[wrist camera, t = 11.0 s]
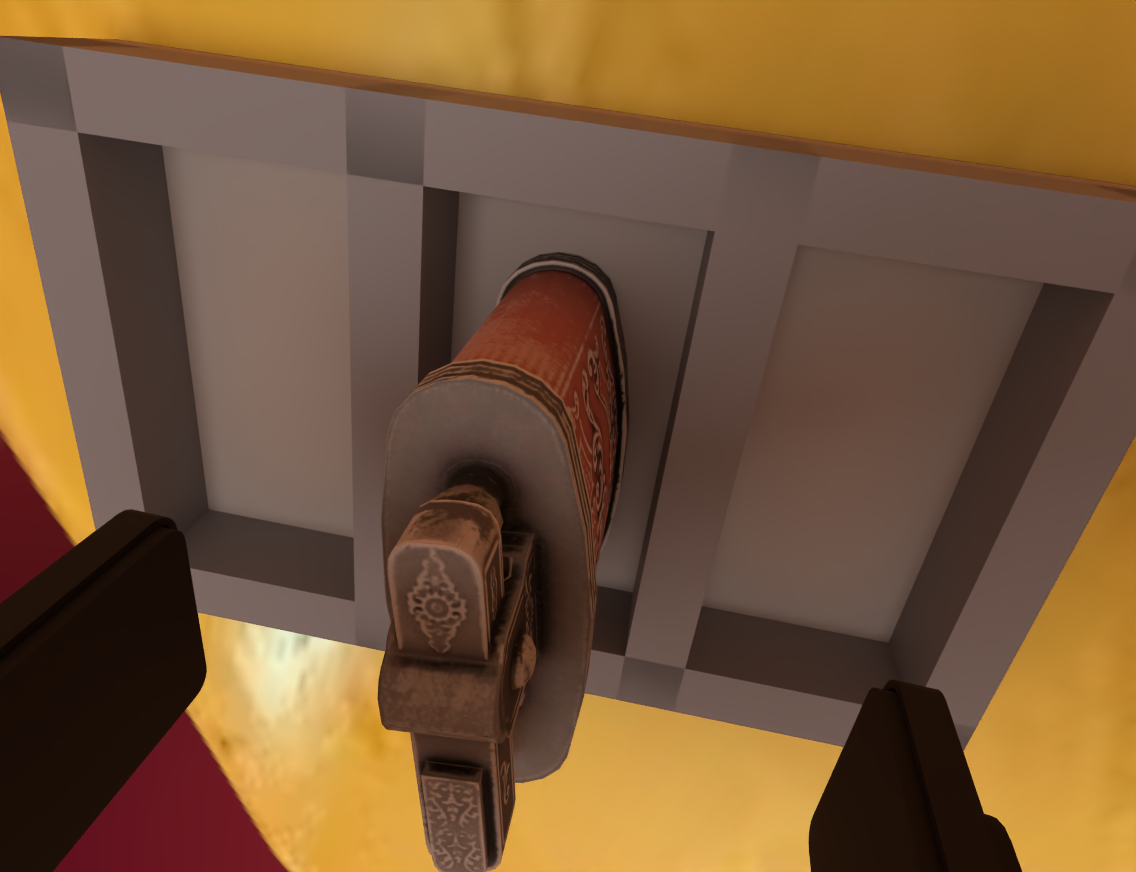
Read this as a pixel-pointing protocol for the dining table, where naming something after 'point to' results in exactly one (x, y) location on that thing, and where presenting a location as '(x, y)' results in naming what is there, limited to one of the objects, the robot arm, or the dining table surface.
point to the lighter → (501, 548)
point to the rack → (653, 345)
